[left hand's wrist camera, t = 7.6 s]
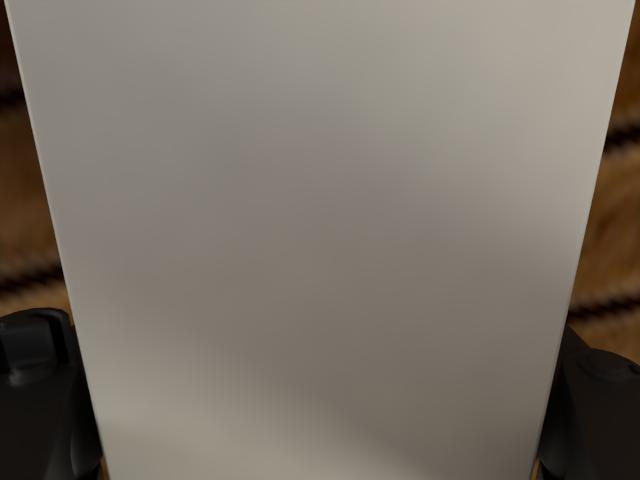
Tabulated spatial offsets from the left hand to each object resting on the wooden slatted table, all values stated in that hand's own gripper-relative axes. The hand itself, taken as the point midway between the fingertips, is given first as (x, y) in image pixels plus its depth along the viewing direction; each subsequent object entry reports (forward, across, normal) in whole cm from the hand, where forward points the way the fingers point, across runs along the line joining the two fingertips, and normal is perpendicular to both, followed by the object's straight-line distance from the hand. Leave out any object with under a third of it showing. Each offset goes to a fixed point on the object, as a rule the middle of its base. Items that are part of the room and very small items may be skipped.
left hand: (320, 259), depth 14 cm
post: (0, 0, -18) cm, 19 cm away
